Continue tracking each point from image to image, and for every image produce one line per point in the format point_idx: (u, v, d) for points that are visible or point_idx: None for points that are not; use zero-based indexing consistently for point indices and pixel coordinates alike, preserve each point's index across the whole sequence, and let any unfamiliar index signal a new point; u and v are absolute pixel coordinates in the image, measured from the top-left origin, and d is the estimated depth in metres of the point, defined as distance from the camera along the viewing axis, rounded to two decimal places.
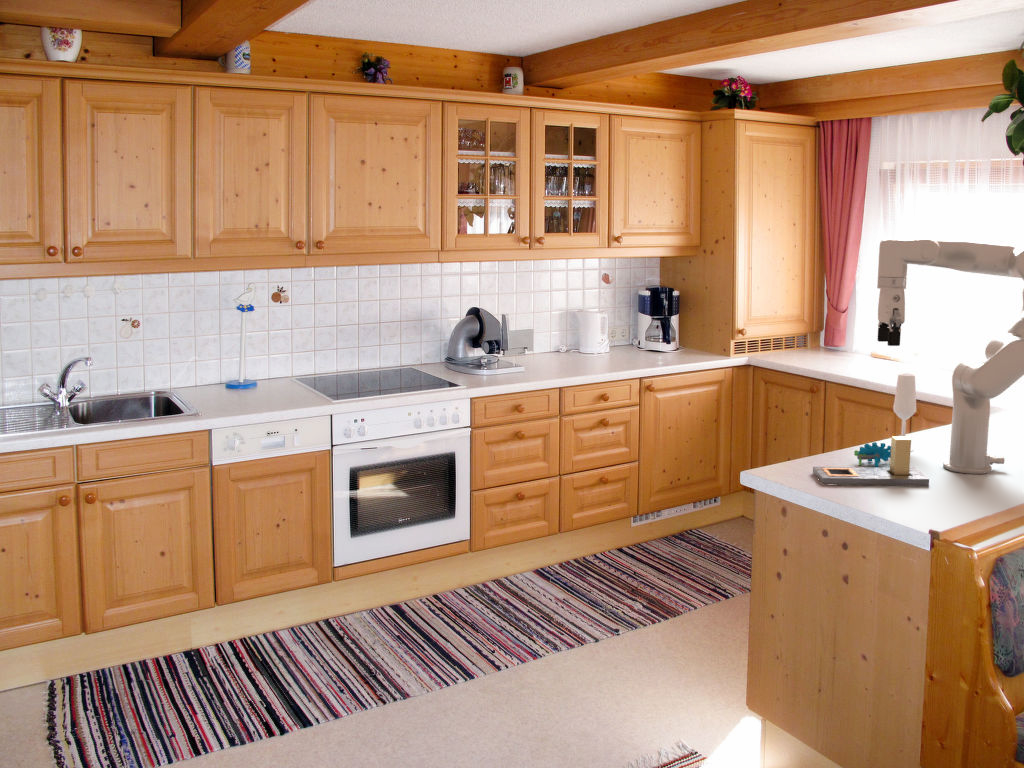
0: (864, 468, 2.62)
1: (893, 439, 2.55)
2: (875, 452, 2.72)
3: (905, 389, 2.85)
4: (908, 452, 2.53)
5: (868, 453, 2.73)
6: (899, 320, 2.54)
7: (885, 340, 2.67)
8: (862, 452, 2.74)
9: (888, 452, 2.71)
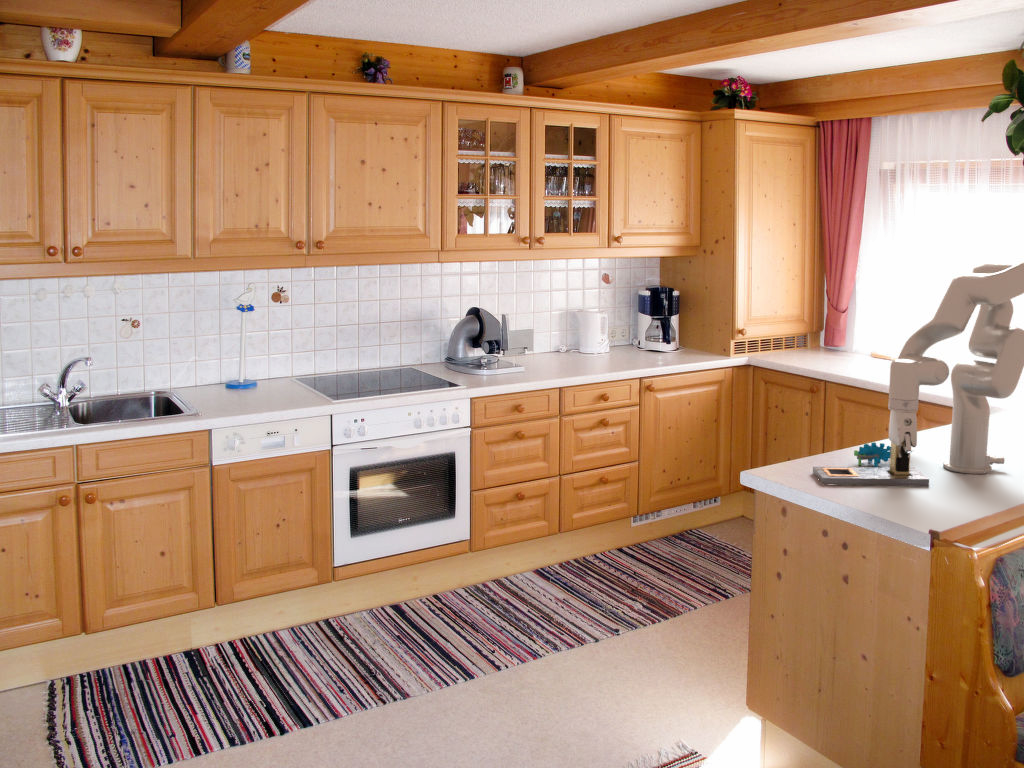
0: (864, 468, 2.62)
1: None
2: (875, 452, 2.71)
3: None
4: None
5: (868, 453, 2.73)
6: (908, 451, 2.49)
7: None
8: (862, 452, 2.74)
9: (888, 452, 2.71)
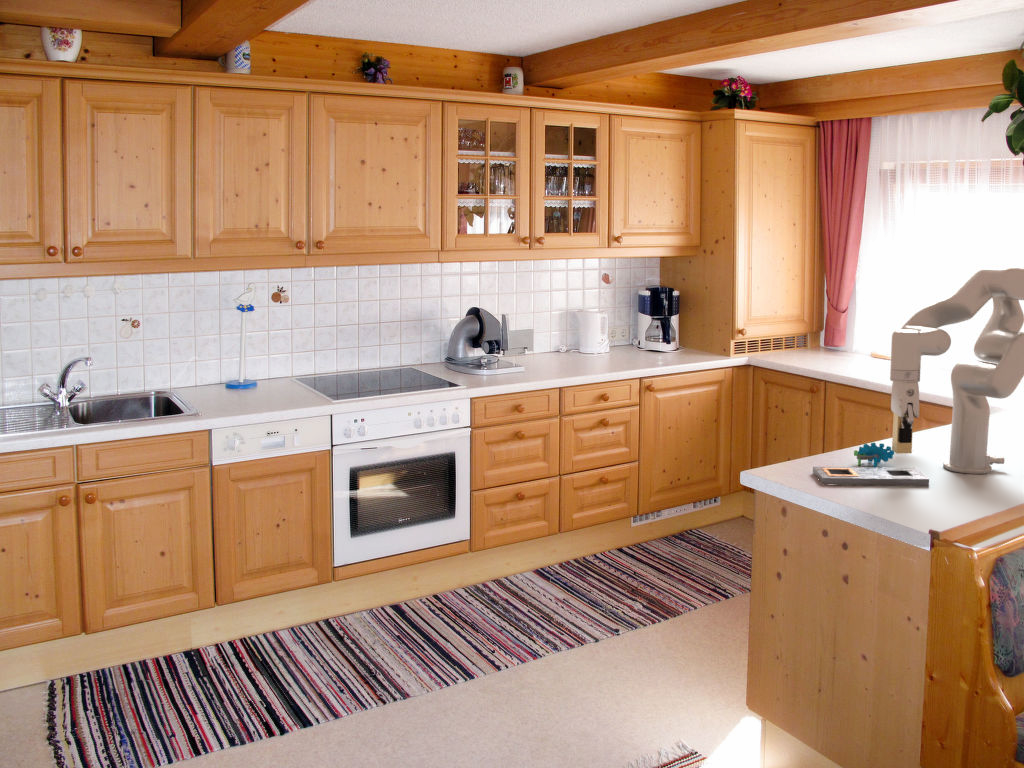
0: (864, 468, 2.62)
1: None
2: (874, 452, 2.71)
3: None
4: None
5: (867, 453, 2.73)
6: (911, 422, 2.47)
7: None
8: (862, 452, 2.74)
9: (888, 453, 2.71)
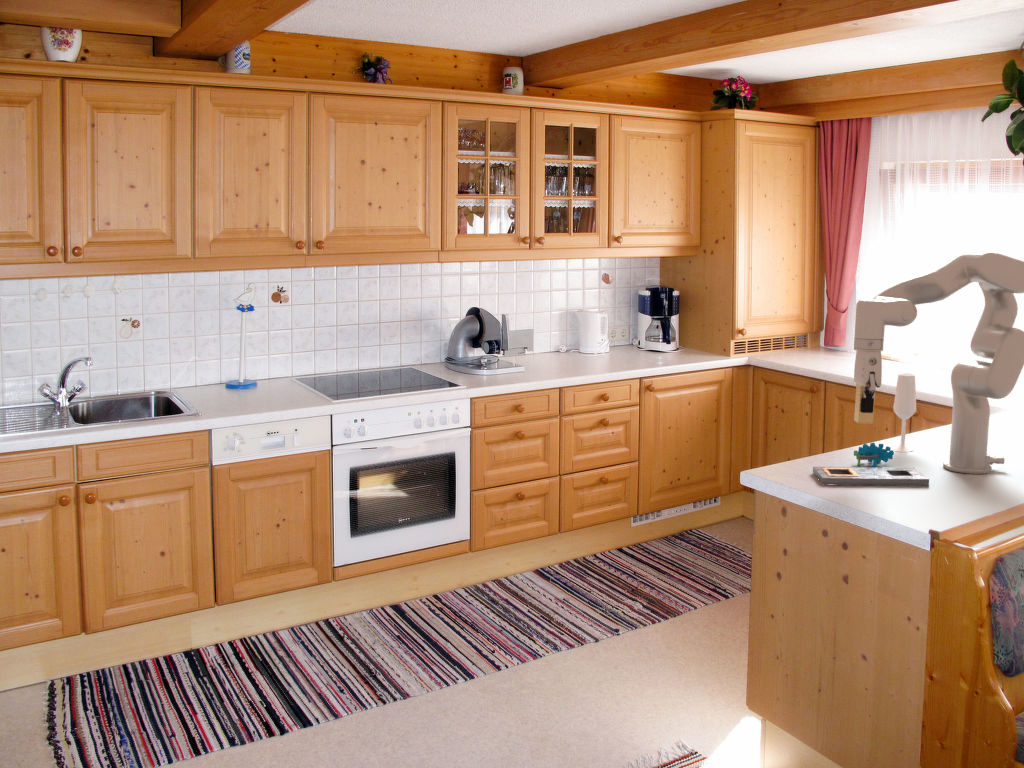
0: (864, 468, 2.62)
1: None
2: (874, 453, 2.71)
3: (906, 389, 2.85)
4: None
5: (867, 453, 2.73)
6: (873, 391, 2.47)
7: None
8: (861, 452, 2.74)
9: (887, 453, 2.70)
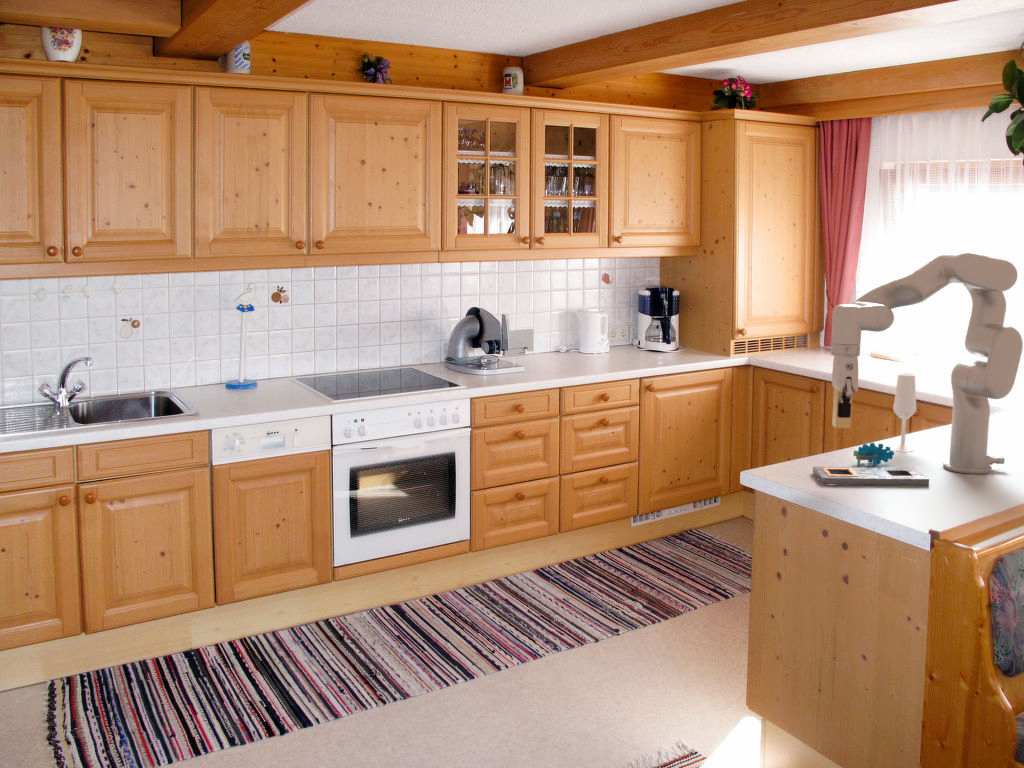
0: (864, 468, 2.62)
1: None
2: (874, 453, 2.71)
3: (905, 389, 2.85)
4: None
5: (867, 453, 2.73)
6: (849, 396, 2.48)
7: None
8: (861, 452, 2.74)
9: (887, 453, 2.70)
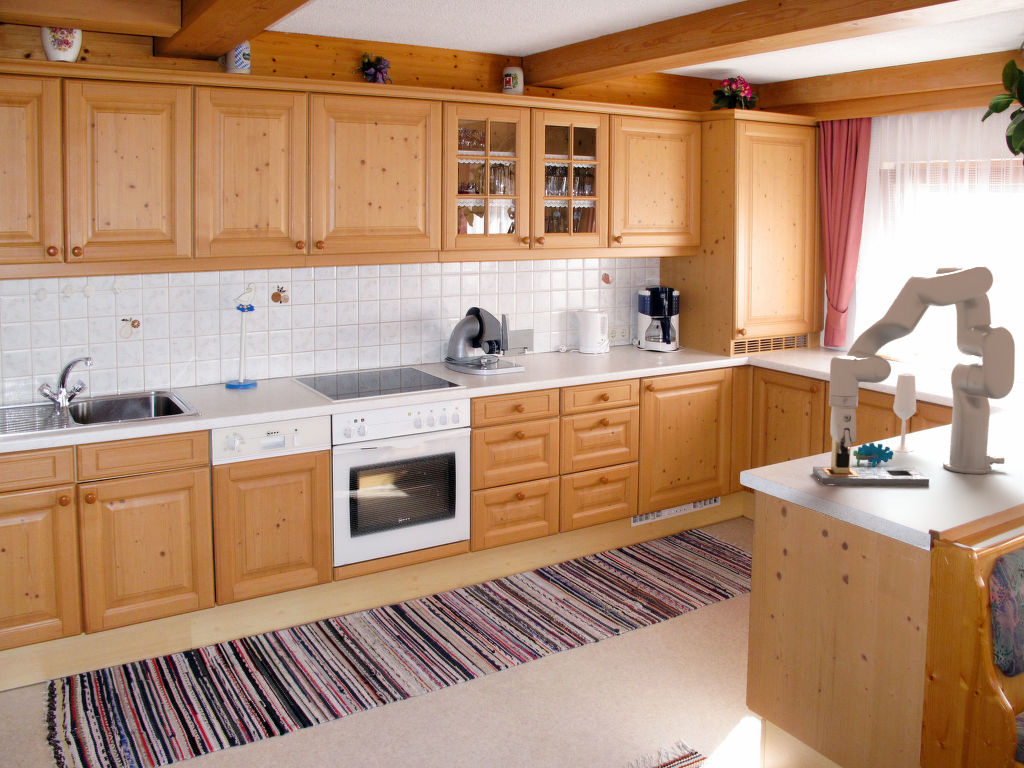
0: (864, 468, 2.62)
1: None
2: (873, 453, 2.71)
3: (905, 389, 2.85)
4: None
5: (867, 454, 2.73)
6: (847, 447, 2.50)
7: None
8: (861, 452, 2.73)
9: (887, 453, 2.70)
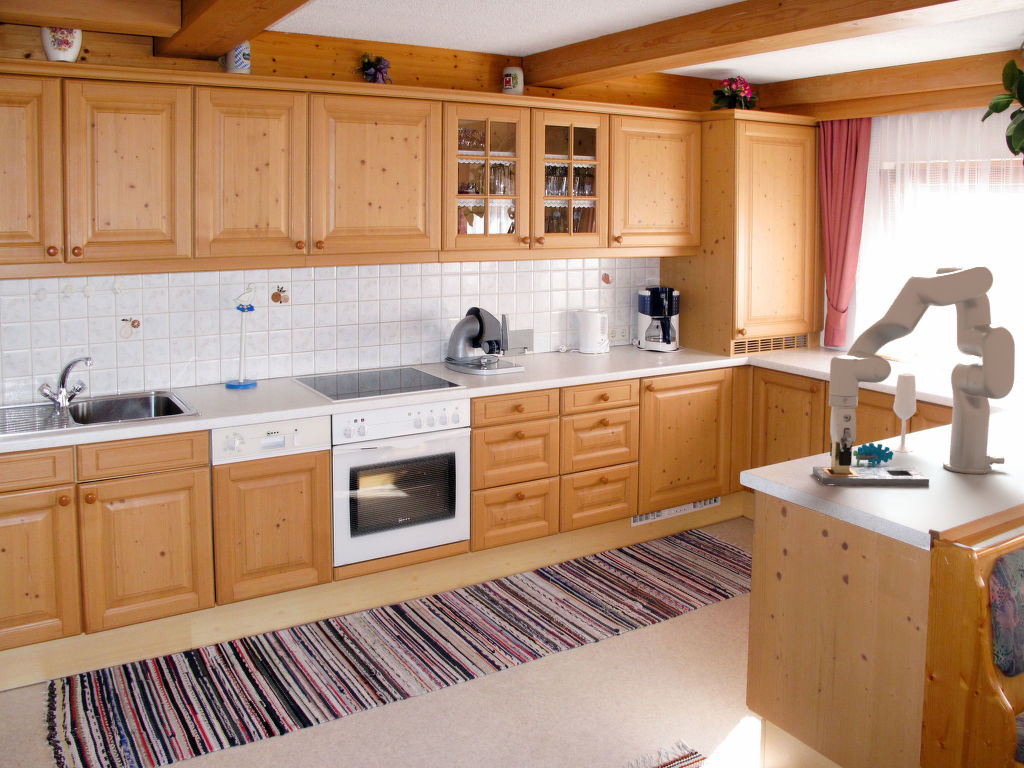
0: (864, 468, 2.62)
1: (833, 439, 2.57)
2: (873, 453, 2.71)
3: (906, 389, 2.85)
4: None
5: (867, 454, 2.72)
6: (850, 441, 2.48)
7: None
8: (861, 452, 2.73)
9: (887, 453, 2.70)
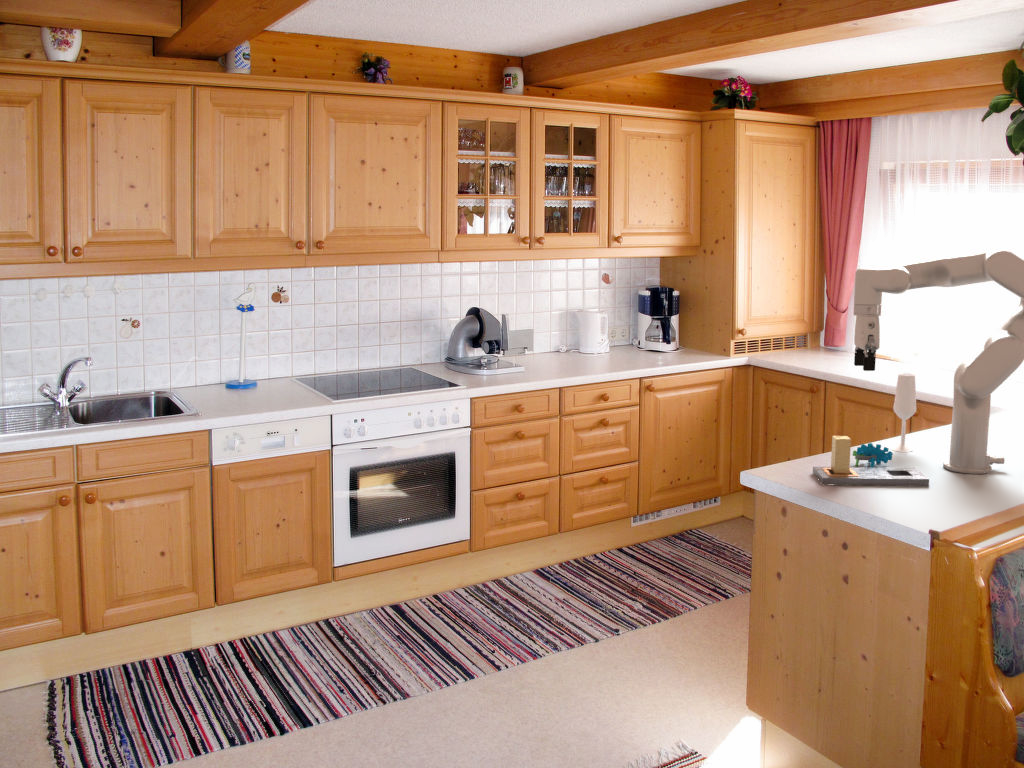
0: (864, 468, 2.62)
1: (833, 439, 2.57)
2: (872, 453, 2.70)
3: (906, 389, 2.85)
4: (848, 451, 2.55)
5: (866, 454, 2.72)
6: (874, 346, 2.63)
7: (861, 364, 2.77)
8: (860, 452, 2.73)
9: (886, 454, 2.69)
